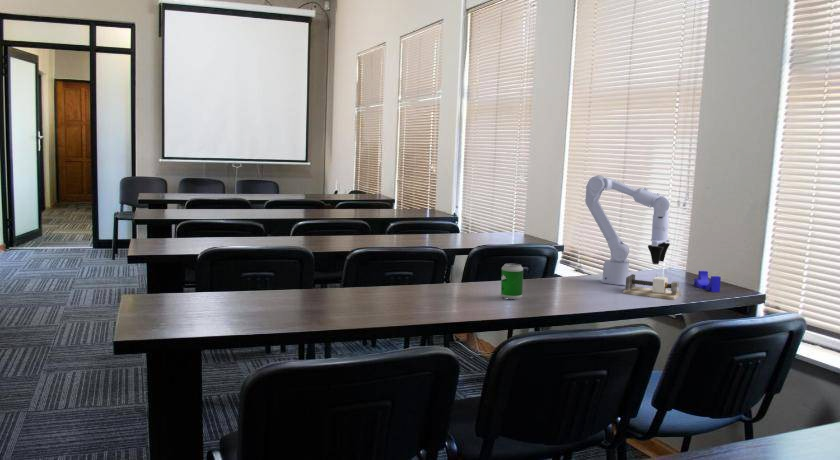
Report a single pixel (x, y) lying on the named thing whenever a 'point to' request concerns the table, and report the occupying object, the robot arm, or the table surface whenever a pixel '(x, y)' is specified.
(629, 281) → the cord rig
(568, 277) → the table surface
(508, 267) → the soda can
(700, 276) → the blue stepped block
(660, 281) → the cord end block
